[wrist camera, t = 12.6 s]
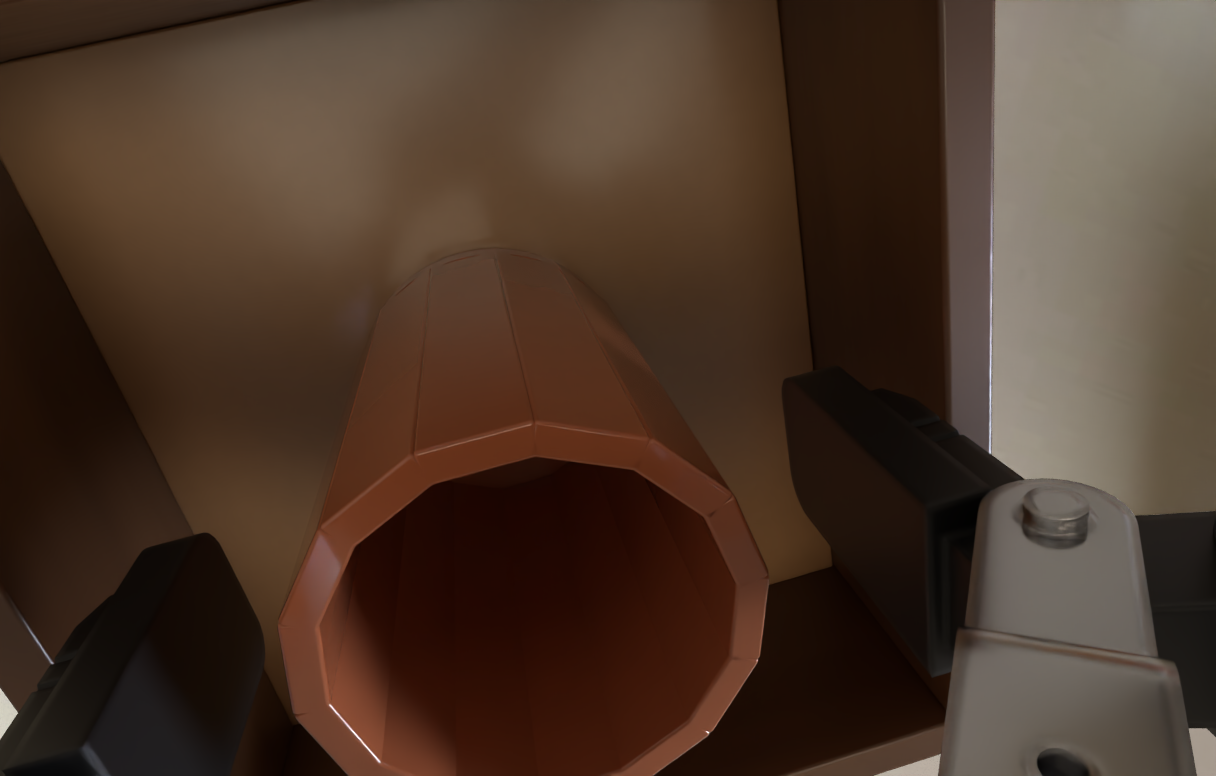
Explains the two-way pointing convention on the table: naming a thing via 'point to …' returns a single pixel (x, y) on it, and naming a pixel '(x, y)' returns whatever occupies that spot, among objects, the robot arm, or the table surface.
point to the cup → (516, 545)
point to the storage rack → (464, 221)
